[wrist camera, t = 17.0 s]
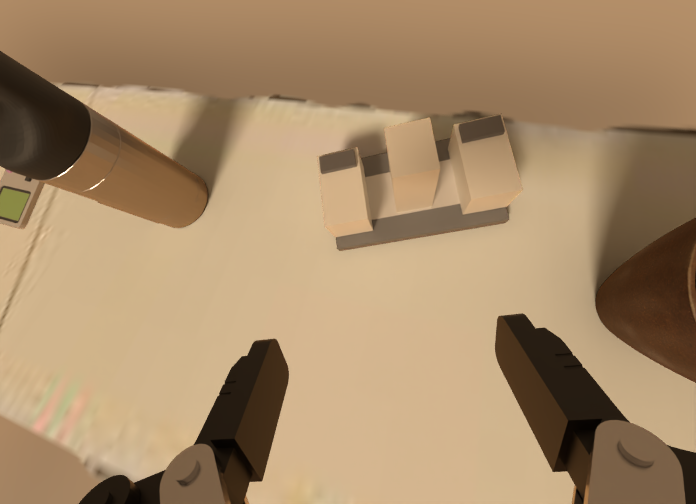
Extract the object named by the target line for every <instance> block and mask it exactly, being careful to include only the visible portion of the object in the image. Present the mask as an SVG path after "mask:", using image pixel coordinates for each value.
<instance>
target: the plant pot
mask: <svg viewBox="0 0 696 504" xmlns="http://www.w3.org/2000/svg"><path fill="white" fill-rule="evenodd" d="M596 310H597V313H598V315H599V318H600V320H601V321H602V323H603V324H604V325H605V327H606V328H607V329H608V330H609V331H610V332H612V333H613V334H614V335H615V336H617V337H618V338H619V339H621V340H622V341H623V342H625V343H626V344H628V345H629V346H631V347H632V348H634V349H635V350H637V351H638V352H640V353H642V354H643V355H645V356H647V357H648V358H650V359H652V360H653V361H655V362H657V363H659V364H660V365H662V366H664V367H666V368H668V369H670V370H672V371H673V372H675V373H677V374H679V375H681V376H683V377H685V378H687V379H689V380H691V381H693V382H695V383H696V218H694V219H692V220H691V221H689V222H687V223H685V224H683V225H681V226H679V227H678V228H676V229H674V230H672V231H671V232H669V233H667V234H666V235H664V236H662V237H661V238H659V239H658V240H656V241H654V242H653V243H651V244H650V245H648V246H647V247H645V248H644V249H642V250H641V251H640V252H638V253H637V254H635V255H634V256H633V257H631V258H630V259H629V260H627V261H626V262H625V263H624V264H622V265H621V266H620V267H619V268H618V269H617V270H616V271H615V272H613V273H612V274H611V276H610V277H609V278H608V279H607V280H606V281H605V282H604V283H603V284H602V286H601V287H600V289H599V291H598V293H597V296H596Z"/></svg>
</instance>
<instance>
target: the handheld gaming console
mask: <svg viewBox="0 0 696 504" xmlns="http://www.w3.org/2000/svg"><path fill="white" fill-rule="evenodd" d="M43 186H44V183H43V182H40V181H37V180H35V179H31V178H28V177H26V176H23V175H20V174H17V173H14V172H12V171H9V170H7V169H6V170H5V172H4V175H3V177H2V179H1V181H0V224H4V225H7V226H11V227H14V228H18V229H24V228H25V227H26V225H27V223H28V221H29V218H30V216H31V214H32V211H33V209H34V207H35V204H36V202H37V200H38V197H39V195H40V193H41V190H42V188H43Z"/></svg>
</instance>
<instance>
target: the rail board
mask: <svg viewBox="0 0 696 504" xmlns="http://www.w3.org/2000/svg"><path fill="white" fill-rule="evenodd" d="M435 145H436V149H437V154H438V159H439V164H440V173H439V177H438V182H437V186H436V191H435V195H434V200H433V204H432V207H427V208H421V209H416V210H410V211H405V212H399V213H397V212H396V206H395V200H394V194H393V187H392V181H391V175H390V168H389V161H388V153H383V154H378V155H374V156H369V157H365V158H361V157H360V154H359V151H358V148H357V147H355V148H351V149H346V150H342V151H338V152H333V153H329V154H325V155H321V156H317V161H318V170H319V180H320V189H321V198H322V207H323V216H324V225H325V228H326V229H328V230H329V231H330V232H331V233H332V234H333V235H334V236H335V237H336V243H337V249H338V250H339V251H343V250H349V249H355V248H360V247H366V246H372V245H378V244H384V243H390V242H396V241H402V240H408V239H414V238H420V237H425V236H431V235H437V234H443V233H449V232H455V231H461V230H467V229H473V228H479V227H485V226H490V225H496V224H502V223H506V222H507V221H508V220H509V216H508V212H507V208H506V207H507V206H508V205H509V204H510V203H511V202H512V201H513V200H514V199H515V198H516V197H517V196H518V194H519V193H520V192H521V191H522V190H523V188H522V185H521V181H520V178H519V174H518V170H517V167H516V163H515V160H514V156H513V153H512V149H511V145H510V142H509V138H508V135H507V131H506V128H505V124H504V121H503V117H502V114H497V115H492V116H488V117H484V118H480V119H475V120H471V121H467V122H462V123H458V124H454V125H453V129H452V134H451V138H449V139H445V140H440V141H436V142H435Z"/></svg>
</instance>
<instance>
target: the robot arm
mask: <svg viewBox="0 0 696 504" xmlns="http://www.w3.org/2000/svg"><path fill="white" fill-rule="evenodd" d="M0 166H1V167H3V168H5V169H7V170H9V171H12V172H14V173H17V174H20V175H23V176H26V177H28V178H31V179H35V180H37V181H40V182H43V183H46V184H49V185H52V186H55V187H57V188H60V189H63V190H66V191H69V192H72V193H75V194H78V195H81V196H84V197H87V198H89V199H92V200H95V201H97V202H98V203H100V204H103V205H106V206H109V207H112V208H115V209H118V210H121V211H124V212H126V213H129V214H132V215H135V216H138V217H141V218H144V219H147V220H150V221H153V222H156V223H161V224H164V225H167V226H170V227H173V228H181V227H185V226H188V225H190V224H191V223H193V222H194V221H195V220H196V219H197V218H198V217H199V216H200V215H201V214H202V212H203V210H204V208H205V206H206V203H207V196H208V193H207V187H206V185H205V183H204V181H203V180H202V179H201V178H200V177H199V176H197V175H196V174H194V173H192V172H191V171H189V170H188V169H186V168H185V167H183V166H181V165H180V164H178V163H177V162H175V161H174V160H172V159H171V158H169V157H167V156H166V155H164V154H163V153H161V152H159V151H158V150H156V149H155V148H153V147H152V146H150V145H148V144H147V143H145V142H144V141H142V140H140V139H139V138H137V137H136V136H134V135H133V134H131V133H129V132H128V131H126V130H125V129H123V128H121V127H120V126H118V125H117V124H115V123H114V122H112V121H110V120H109V119H107V118H105V117H104V116H102V115H101V114H99V113H98V112H96V111H94V110H93V109H91V108H90V107H88V106H87V105H85V104H83V103H82V102H80V101H79V100H77V99H76V98H74V97H72V96H71V95H69V94H67V93H66V92H64V91H63V90H61V89H59V88H58V87H56V86H55V85H53V84H51V83H50V82H48V81H47V80H45V79H44V78H42V77H40V76H39V75H37V74H35V73H34V72H32V71H31V70H29V69H28V68H26V67H24V66H23V65H21V64H20V63H18V62H17V61H15V60H14V59H12V58H10V57H9V56H7V55H6V54H4V53H3V52H1V51H0ZM495 352H496V357H497V361H498V363H499V366H500V368H501V370H502V372H503V374H504V376H505V378H506V380H507V382H508V384H509V386H510V388H511V390H512V392H513V394H514V396H515V398H516V400H517V402H518V404H519V406H520V408H521V409H522V411H523V413H524V415H525V417H526V419H527V421H528V423H529V425H530V427H531V429H532V431H533V433H534V435H535V437H536V439H537V441H538V443H539V445H540V447H541V449H542V451H543V453H544V455H545V457H546V459H547V461H548V463H549V465H550V467H551V469H552V471H553V472H561V471H568V473H569V475H570V477H571V478H572V480H573V482H574V484H575V486H574V491H573V498H572V504H696V453H694V452H690V451H686V450H681V449H678V448H674V447H671V446H668V445H666V444H665V443H664V442H663V441H662V440H660V439H659V438H658V437H657V436H655V435H654V434H652V433H651V432H649V431H647V430H646V429H644V428H642V427H640V426H637V425H635V424H632V423H630V422H629V421H628V420H627V419H626V418H625V417H624V416H623V414H622V413H621V412H620V411H619V410H618V408H617V407H616V406H615V405H614V403H613V402H612V401H611V400H610V398H609V397H608V396H607V395H606V394H605V392H604V391H603V390H602V389H601V387H600V386H599V385H598V384H597V383H596V381H595V380H594V379H593V378H592V376H591V375H590V374H589V373H588V371H587V370H586V369H585V368H583V367H582V364H581V363H580V362H579V360H578V359H577V358H576V357H575V356H573V354H572V352H571V351H570V349H569V348H568V347H567V346H566V344H565V343H564V342H563V341H562V340H561V339H560V338H559V337H557V336H556V335H554V334H553V333H552V332H550V331H549V330H547V329H546V328H536V329H535V327H534V326H533V324H532V323H531V322H530V320H529V319H528V318H527V317H526V315H524V314H514V315H504V316H499V317H498V319H497V330H496V342H495ZM288 379H289V371H288V366H287V363H286V361H285V358H284V356H283V353H282V351H281V349H280V346H279V344H278V341H277V340H276V339H268V340H258V341H255V342H254V343H253V344H252V347H251V349H250V351H249V353H248V356H242V357H241V358H240V359H239V360H238V361H237V363H236V364H235V365H234V366H233V367H232V368H231V370H230V372H229V374H228V376H227V378H226V380H225V385H223V386H222V389H221V391H220V393H219V396H218V397H217V399H216V401H215V403H214V405H213V407H212V409H211V411H210V413H209V415H208V417H207V420H206V422H205V424H204V426H203V428H202V430H201V432H200V434H199V436H198V438H197V440H196V442H195V444H194V445H193V446H191V447H188V448H187V449H185V450H184V451H182V452H181V453H180V454H179V455H177V456H176V457H175V458H174V459H173V461H172V462H171V463H170V464H169V466H168V467H167V469H166V470H164V471H162V472H159V473H157V474H155V475H152V476H150V477H147V478H145V479H142V480H140V481H137V482H135V483H133V482H132V481H131V480H130V479H128V478H127V477H126V476H124V475H116V476H113V477H110V478H108V479H106V480H104V481H103V482H101V483H99V484H98V485H97V486H96V487H94V488H93V489H92V490H91V491H90V492H89V493H88V494H87V495H86V496H85V497H84V498H83V499H82V500H81V501H80V503H79V504H249V502H248V499H247V497H246V492H247V489H248V486H249V482H256V481H262V480H263V476H264V473H265V469H266V465H267V461H268V457H269V453H270V450H271V446H272V442H273V438H274V434H275V430H276V427H277V423H278V419H279V415H280V411H281V408H282V404H283V400H284V396H285V392H286V388H287V385H288Z"/></svg>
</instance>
